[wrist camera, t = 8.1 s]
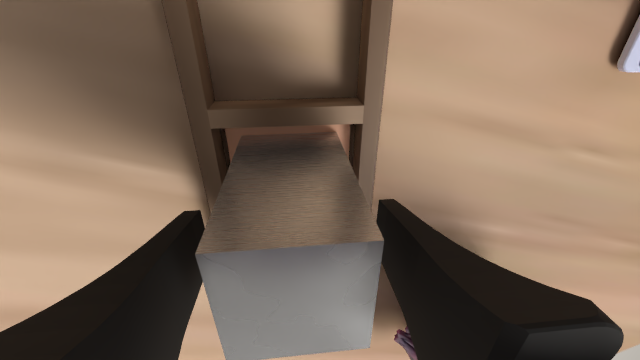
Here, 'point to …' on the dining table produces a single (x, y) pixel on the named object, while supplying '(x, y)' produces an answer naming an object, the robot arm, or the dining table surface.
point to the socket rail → (281, 112)
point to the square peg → (291, 250)
